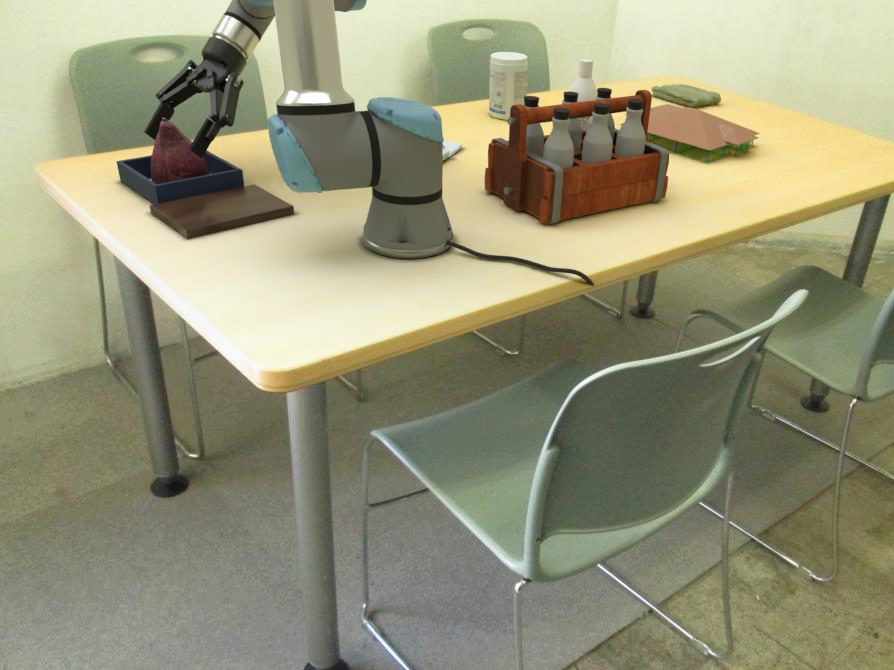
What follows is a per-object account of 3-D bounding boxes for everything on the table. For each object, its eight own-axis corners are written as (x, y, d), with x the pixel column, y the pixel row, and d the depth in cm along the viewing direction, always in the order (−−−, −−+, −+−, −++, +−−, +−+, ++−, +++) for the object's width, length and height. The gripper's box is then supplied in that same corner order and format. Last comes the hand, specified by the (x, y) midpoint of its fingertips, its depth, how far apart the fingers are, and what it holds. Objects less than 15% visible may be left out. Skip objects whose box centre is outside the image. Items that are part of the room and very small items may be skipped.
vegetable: (195, 213, 158) (181, 143, 147) (143, 199, 159) (125, 127, 148) (223, 183, 165) (211, 113, 154) (173, 169, 166) (158, 99, 155)
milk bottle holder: (674, 199, 173) (689, 102, 162) (536, 229, 155) (543, 121, 144) (608, 169, 187) (618, 77, 176) (474, 193, 168) (476, 92, 158)
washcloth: (677, 90, 254) (679, 79, 252) (722, 105, 243) (725, 93, 241) (647, 95, 247) (648, 83, 245) (692, 110, 236) (694, 98, 234)
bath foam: (586, 157, 193) (596, 65, 182) (558, 151, 195) (566, 60, 184) (597, 149, 198) (606, 59, 187) (570, 144, 200) (577, 55, 189)
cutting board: (294, 213, 153) (293, 205, 152) (187, 238, 141) (186, 230, 140) (255, 191, 161) (254, 183, 160) (151, 213, 149) (149, 205, 148)
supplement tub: (521, 111, 223) (524, 51, 215) (529, 121, 215) (532, 59, 207) (485, 110, 221) (487, 50, 213) (491, 120, 213) (493, 59, 205)
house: (717, 167, 193) (724, 131, 189) (604, 133, 210) (607, 99, 206) (766, 149, 208) (773, 115, 203) (656, 118, 225) (661, 86, 221)
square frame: (244, 190, 161) (242, 169, 159) (159, 208, 151) (154, 186, 149) (203, 166, 171) (200, 146, 169) (120, 181, 161) (116, 161, 159)
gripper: (286, 74, 156) (229, 172, 154) (202, 50, 168) (147, 141, 165) (260, 46, 149) (199, 149, 147) (174, 23, 161) (116, 118, 159)
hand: (172, 145), depth 156 cm, fingers open, 13 cm apart
